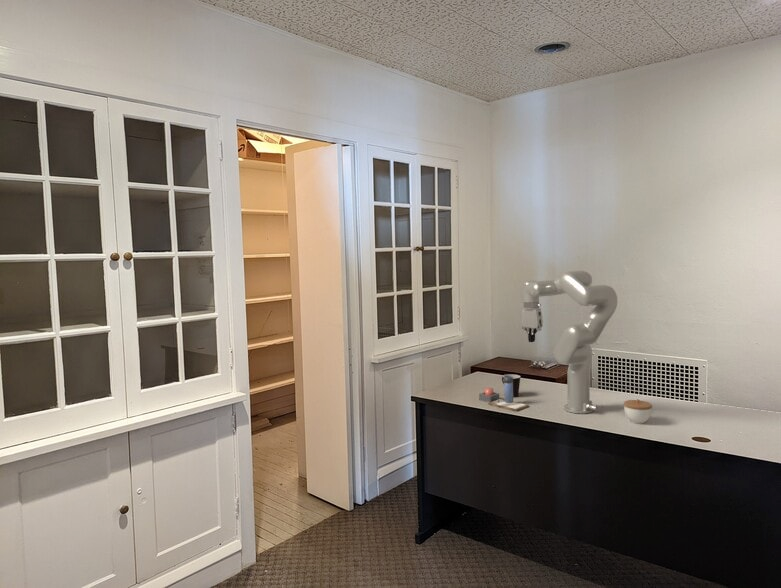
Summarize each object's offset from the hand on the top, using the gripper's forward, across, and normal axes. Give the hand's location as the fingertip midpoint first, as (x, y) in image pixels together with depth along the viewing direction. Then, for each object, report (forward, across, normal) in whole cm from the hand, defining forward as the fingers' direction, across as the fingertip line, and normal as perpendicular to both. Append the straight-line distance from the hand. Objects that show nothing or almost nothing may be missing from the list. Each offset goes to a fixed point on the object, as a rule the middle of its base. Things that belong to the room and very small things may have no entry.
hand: (531, 341), depth 271 cm
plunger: (+27, +10, +22) cm, 36 cm away
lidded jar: (+27, -56, +6) cm, 63 cm away
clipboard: (+27, -3, +24) cm, 36 cm away
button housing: (+27, +10, +22) cm, 36 cm away
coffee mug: (+27, +7, +8) cm, 29 cm away
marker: (+26, -2, +22) cm, 34 cm away
